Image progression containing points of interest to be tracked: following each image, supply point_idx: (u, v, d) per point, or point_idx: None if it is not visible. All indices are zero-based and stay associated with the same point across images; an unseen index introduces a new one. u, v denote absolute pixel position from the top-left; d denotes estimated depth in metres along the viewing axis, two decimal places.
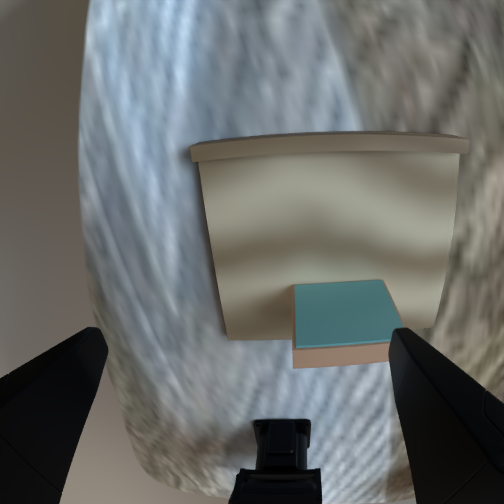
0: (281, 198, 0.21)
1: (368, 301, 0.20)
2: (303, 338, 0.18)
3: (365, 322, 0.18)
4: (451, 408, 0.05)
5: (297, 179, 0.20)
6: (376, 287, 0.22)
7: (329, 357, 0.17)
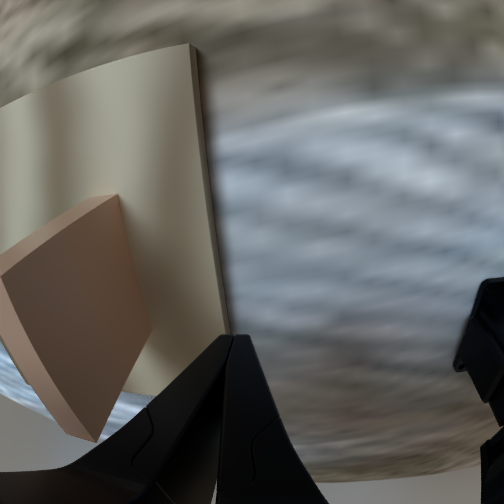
0: None
1: None
2: None
3: None
4: (220, 425, 0.05)
5: None
6: None
7: (53, 403, 0.08)
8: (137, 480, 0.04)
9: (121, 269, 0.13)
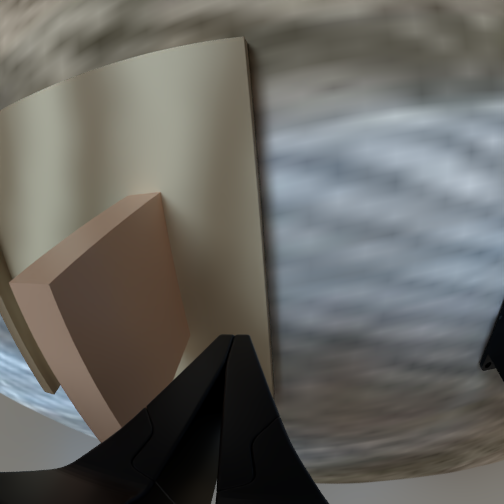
0: None
1: None
2: None
3: None
4: (221, 425, 0.05)
5: None
6: None
7: (99, 421, 0.08)
8: (137, 480, 0.04)
9: (164, 273, 0.12)
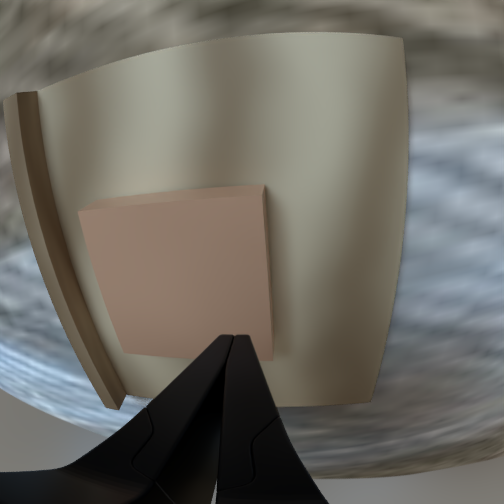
0: None
1: None
2: None
3: None
4: (221, 425, 0.05)
5: None
6: None
7: None
8: (137, 480, 0.04)
9: (236, 278, 0.11)
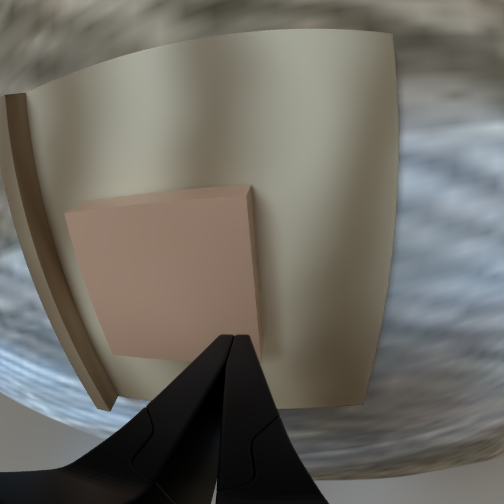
0: None
1: None
2: None
3: None
4: (220, 425, 0.05)
5: None
6: None
7: None
8: (137, 480, 0.04)
9: (222, 280, 0.11)
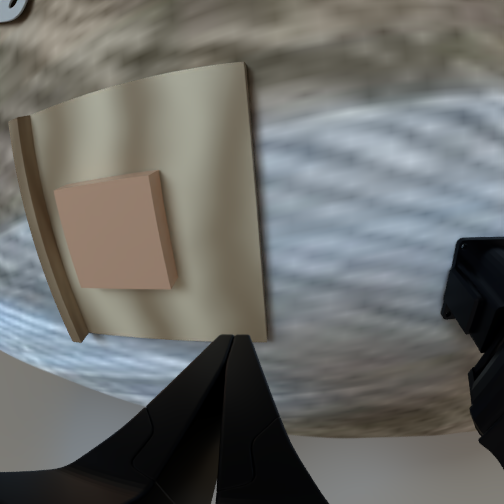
0: None
1: None
2: None
3: None
4: (221, 425, 0.05)
5: None
6: None
7: None
8: (137, 480, 0.04)
9: (140, 228, 0.17)
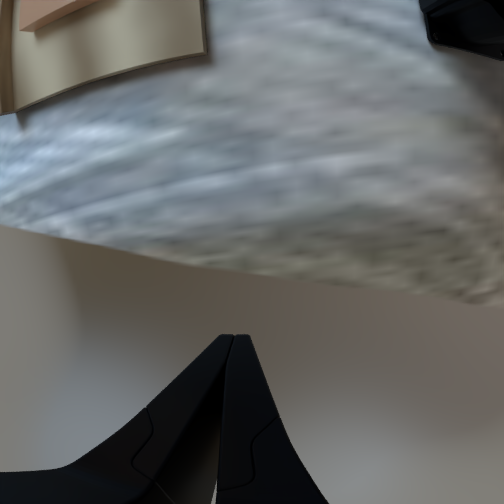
0: (38, 33, 0.14)
1: None
2: None
3: None
4: (221, 425, 0.05)
5: None
6: None
7: None
8: (137, 480, 0.04)
9: None
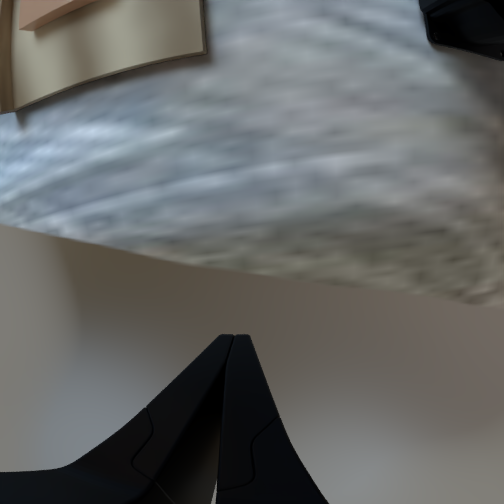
0: (38, 32, 0.14)
1: None
2: None
3: None
4: (220, 425, 0.05)
5: None
6: None
7: None
8: (137, 480, 0.04)
9: None
